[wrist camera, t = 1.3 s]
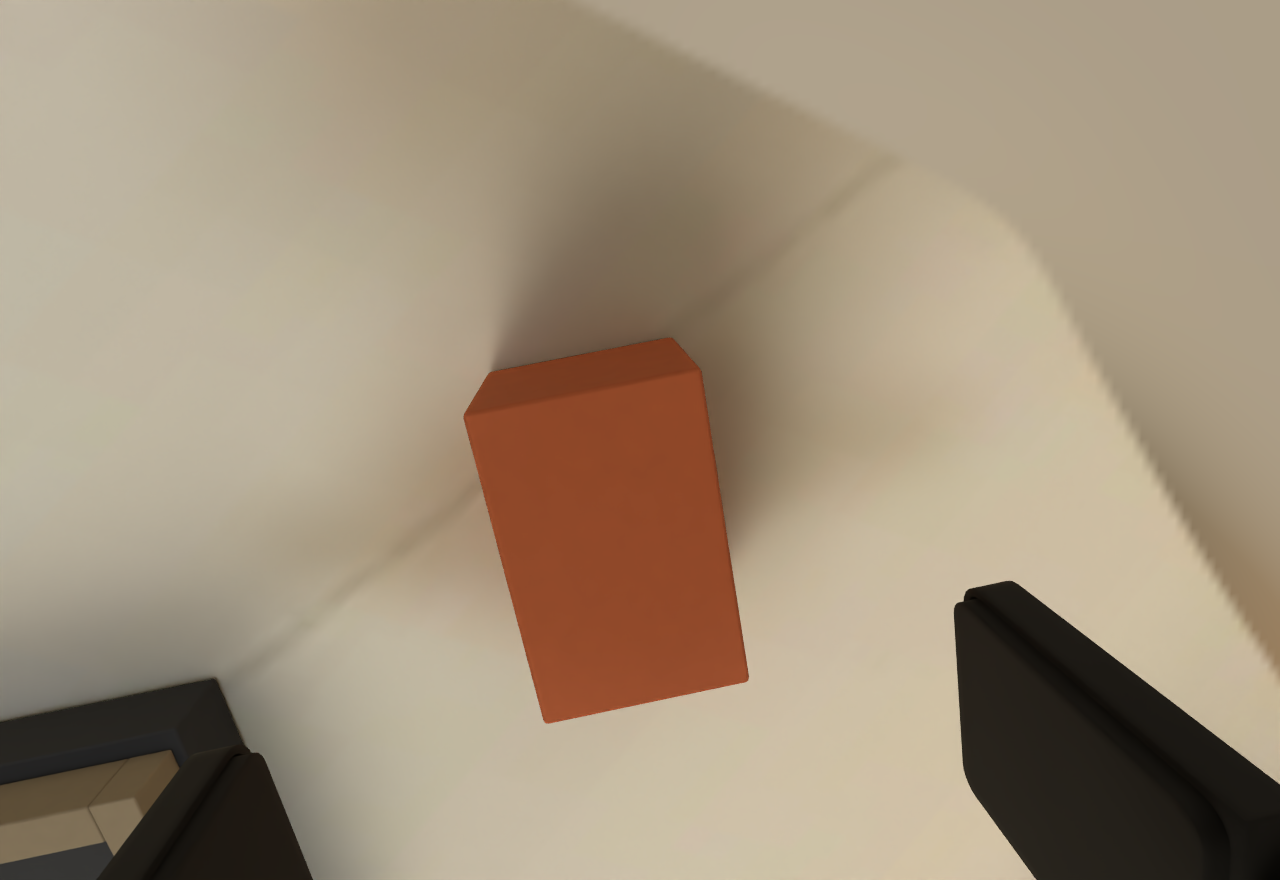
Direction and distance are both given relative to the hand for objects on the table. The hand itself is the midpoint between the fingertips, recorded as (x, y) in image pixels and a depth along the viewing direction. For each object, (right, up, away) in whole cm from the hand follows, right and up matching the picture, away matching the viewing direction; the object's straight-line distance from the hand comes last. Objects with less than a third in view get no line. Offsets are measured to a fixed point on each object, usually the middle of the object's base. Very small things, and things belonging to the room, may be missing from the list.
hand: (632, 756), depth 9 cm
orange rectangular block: (-1, +3, +8) cm, 9 cm away
